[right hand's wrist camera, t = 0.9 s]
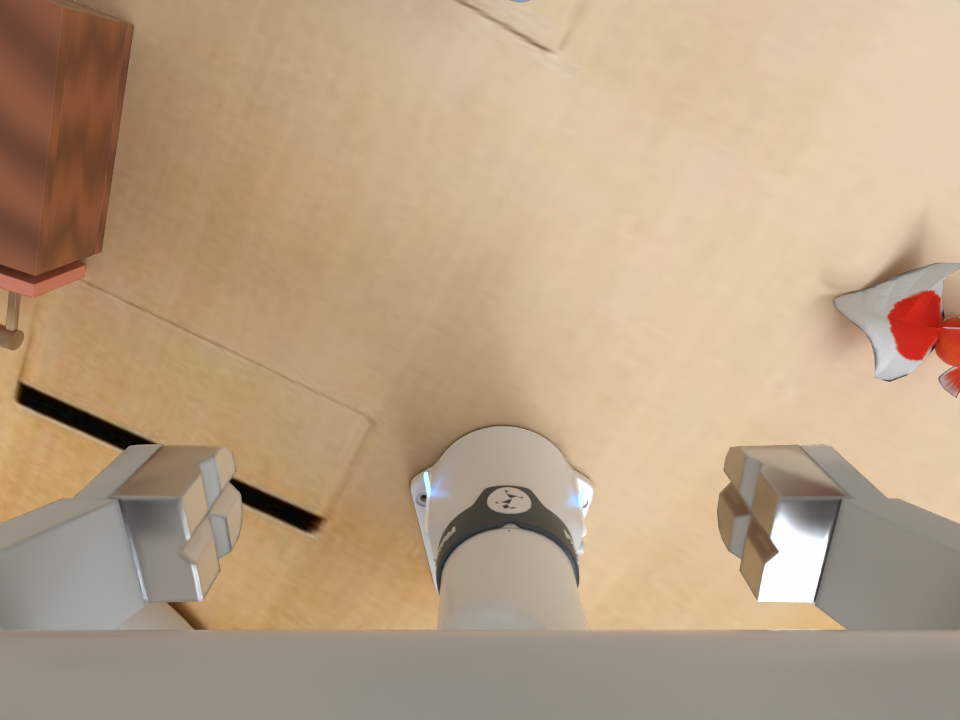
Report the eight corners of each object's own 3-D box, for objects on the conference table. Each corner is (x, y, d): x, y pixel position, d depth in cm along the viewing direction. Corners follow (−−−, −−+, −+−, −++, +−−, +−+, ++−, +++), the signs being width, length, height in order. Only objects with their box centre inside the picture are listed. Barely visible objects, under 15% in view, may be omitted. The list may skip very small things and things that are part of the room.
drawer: (76, 338, 56) (25, 366, 50) (-35, 303, 55) (-101, 327, 49) (112, 70, 48) (57, 63, 42) (-17, 20, 47) (-94, 6, 40)
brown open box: (101, 252, 54) (35, 276, 46) (-27, 208, 53) (-119, 225, 45) (134, 25, 48) (63, 6, 40) (-12, -32, 46) (-116, -64, 38)
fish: (941, 441, 56) (1016, 438, 46) (789, 343, 60) (828, 321, 50) (1009, 348, 56) (1098, 325, 47) (853, 256, 60) (905, 217, 50)
